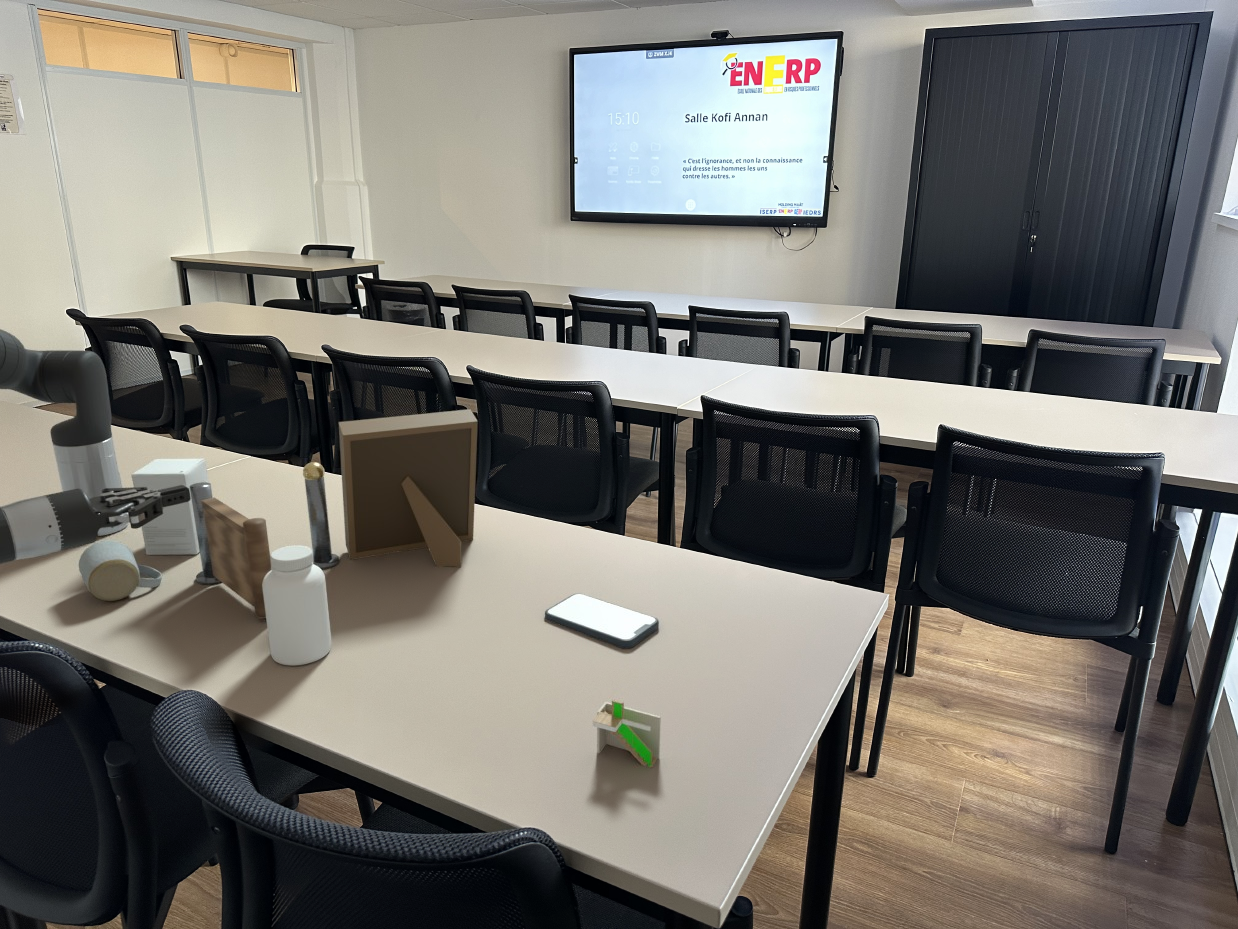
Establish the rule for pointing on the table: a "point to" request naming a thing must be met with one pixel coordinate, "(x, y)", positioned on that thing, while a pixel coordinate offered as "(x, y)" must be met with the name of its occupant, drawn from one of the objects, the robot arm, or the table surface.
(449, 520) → the photo frame
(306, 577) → the pill bottle
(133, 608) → the table surface
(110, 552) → the ceramic mug
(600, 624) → the smartphone
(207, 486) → the hinge post
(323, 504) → the post
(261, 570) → the gate
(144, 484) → the supplement box
